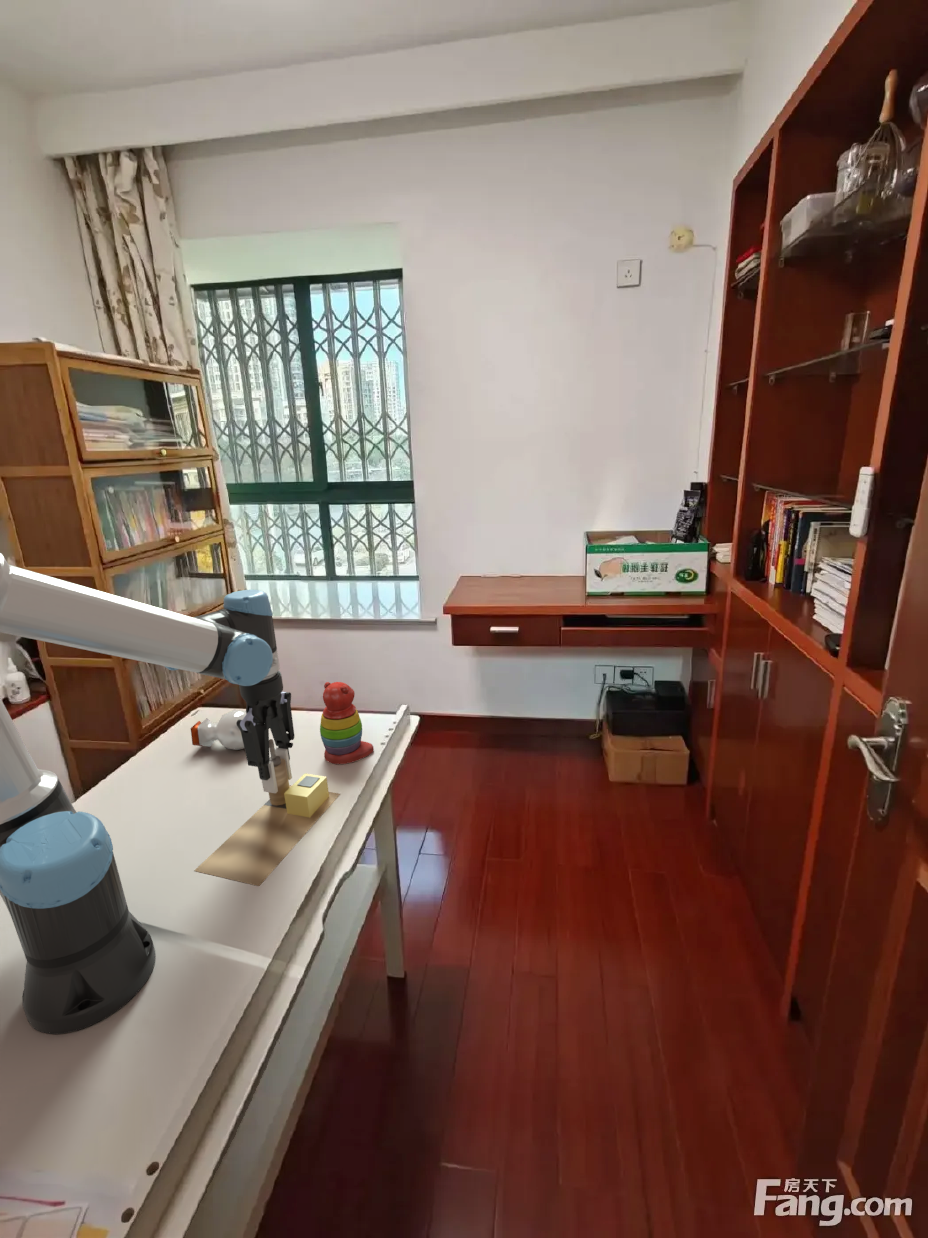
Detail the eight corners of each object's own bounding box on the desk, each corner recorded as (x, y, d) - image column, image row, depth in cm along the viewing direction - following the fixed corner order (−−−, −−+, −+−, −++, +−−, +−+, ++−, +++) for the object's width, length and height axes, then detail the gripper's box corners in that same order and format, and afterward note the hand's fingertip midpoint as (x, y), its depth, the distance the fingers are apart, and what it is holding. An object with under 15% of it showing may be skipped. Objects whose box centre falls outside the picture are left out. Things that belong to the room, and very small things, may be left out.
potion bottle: (261, 754, 138) (203, 761, 140) (268, 718, 144) (213, 724, 146) (242, 738, 130) (181, 744, 132) (251, 700, 136) (192, 707, 138)
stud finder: (309, 817, 109) (306, 796, 108) (287, 813, 111) (283, 792, 110) (329, 796, 116) (326, 776, 114) (307, 792, 117) (304, 772, 116)
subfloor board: (273, 895, 93) (272, 889, 92) (183, 873, 98) (182, 868, 98) (352, 800, 116) (351, 795, 116) (276, 787, 122) (275, 782, 121)
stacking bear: (377, 749, 135) (370, 679, 129) (346, 770, 127) (337, 696, 121) (344, 738, 141) (336, 670, 135) (312, 757, 133) (302, 686, 127)
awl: (283, 806, 112) (273, 746, 108) (265, 803, 113) (255, 743, 109) (295, 794, 115) (285, 735, 111) (278, 792, 116) (267, 733, 112)
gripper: (246, 695, 97) (267, 814, 104) (303, 658, 112) (318, 764, 119) (209, 691, 99) (233, 807, 106) (270, 655, 115) (287, 759, 122)
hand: (278, 784), depth 113 cm, fingers closed on awl, 4 cm apart
